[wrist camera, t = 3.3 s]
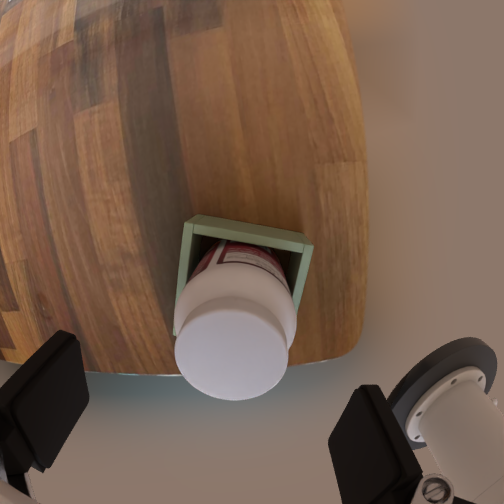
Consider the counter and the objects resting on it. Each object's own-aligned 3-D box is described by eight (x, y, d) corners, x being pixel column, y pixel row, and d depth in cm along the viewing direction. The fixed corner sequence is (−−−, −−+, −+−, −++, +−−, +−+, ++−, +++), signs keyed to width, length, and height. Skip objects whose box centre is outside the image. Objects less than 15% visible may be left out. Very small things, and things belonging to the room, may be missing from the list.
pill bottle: (221, 322, 23) (199, 424, 12) (186, 253, 21) (127, 322, 11) (294, 294, 22) (324, 388, 11) (263, 220, 21) (272, 264, 10)
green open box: (303, 233, 21) (314, 245, 17) (281, 327, 23) (285, 355, 19) (197, 213, 21) (184, 221, 17) (185, 310, 22) (172, 335, 19)
